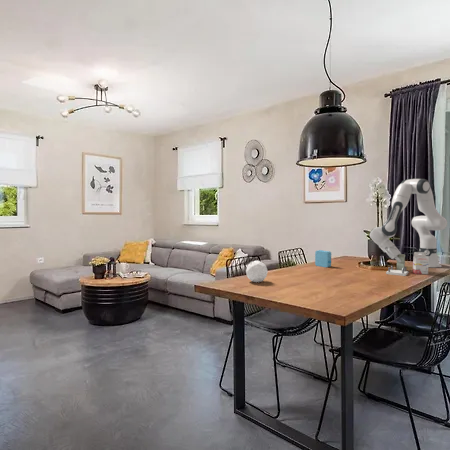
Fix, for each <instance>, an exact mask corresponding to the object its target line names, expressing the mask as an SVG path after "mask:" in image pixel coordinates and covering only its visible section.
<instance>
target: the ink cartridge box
mask: <svg viewBox="0 0 450 450" xmlns="http://www.w3.org/2000/svg"><path fill="white" fill-rule="evenodd" d="M419 253H420V254H422V255H418V254H419ZM428 266H429V257H426V252H419V251H414V252H413V261H412V273H413V274H415V275H429V267H428Z"/></svg>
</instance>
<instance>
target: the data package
mask: <svg viewBox="0 0 450 450" xmlns="http://www.w3.org/2000/svg"><path fill="white" fill-rule="evenodd" d="M314 255H315V256H314V257H315V259H314V265H315V266H316V267H321V268H322V267H323V268H330V267H331V266H332V252H331V251H329V250H321V249H319V250H316V251H315V254H314Z"/></svg>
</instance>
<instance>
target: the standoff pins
mask: <svg viewBox="0 0 450 450" xmlns="http://www.w3.org/2000/svg"><path fill="white" fill-rule="evenodd" d="M390 269H391V270H394V266H393V265H390V267H389V266H388V270H387V271H388V272H390ZM404 271H407V266H405V269H402V273H404Z"/></svg>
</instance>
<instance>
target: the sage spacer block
mask: <svg viewBox="0 0 450 450" xmlns="http://www.w3.org/2000/svg"><path fill="white" fill-rule="evenodd" d="M398 258H400V259H401V260H402V261H401V262H399V261H397V260H396V270H402V269H405V267H406V264H405V263H406V254H402V253H401V254H398Z"/></svg>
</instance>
